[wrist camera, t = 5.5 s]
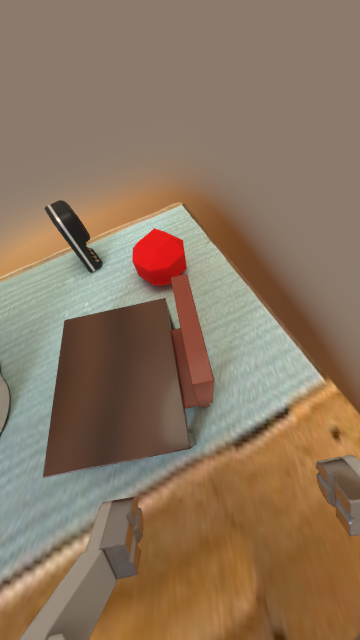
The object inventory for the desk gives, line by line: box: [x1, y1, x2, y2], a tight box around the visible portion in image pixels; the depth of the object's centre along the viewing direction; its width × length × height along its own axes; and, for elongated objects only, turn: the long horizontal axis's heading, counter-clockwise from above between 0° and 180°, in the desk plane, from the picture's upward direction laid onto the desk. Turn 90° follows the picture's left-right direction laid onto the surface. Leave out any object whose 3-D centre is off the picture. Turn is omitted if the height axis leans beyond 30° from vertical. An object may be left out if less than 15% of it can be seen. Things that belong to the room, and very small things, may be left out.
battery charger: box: [45, 201, 102, 272], centre depth 37 cm, size 7×4×11 cm, turn 35°
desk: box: [43, 298, 196, 478], centre depth 25 cm, size 13×16×8 cm
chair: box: [171, 274, 214, 408], centre depth 21 cm, size 10×9×15 cm
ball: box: [132, 228, 186, 285], centre depth 34 cm, size 8×8×8 cm
